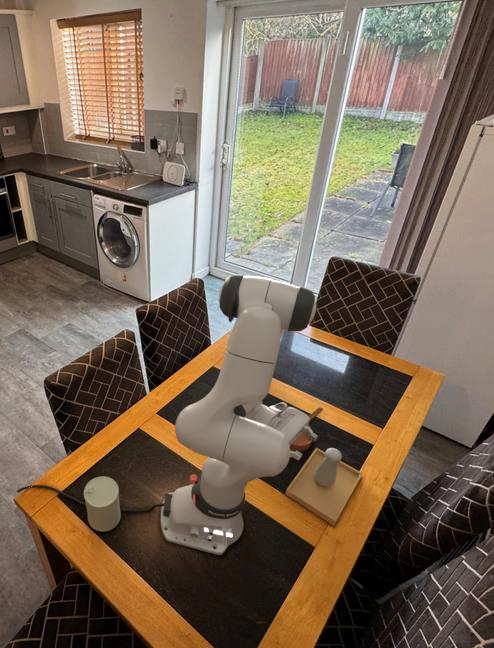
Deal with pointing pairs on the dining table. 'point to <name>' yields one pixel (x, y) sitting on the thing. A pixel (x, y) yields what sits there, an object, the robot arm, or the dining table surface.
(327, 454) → the salt shaker
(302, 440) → the pan
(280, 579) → the dining table surface
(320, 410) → the pan handle
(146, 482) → the dining table surface
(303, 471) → the tray
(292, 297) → the robot arm
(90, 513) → the can
